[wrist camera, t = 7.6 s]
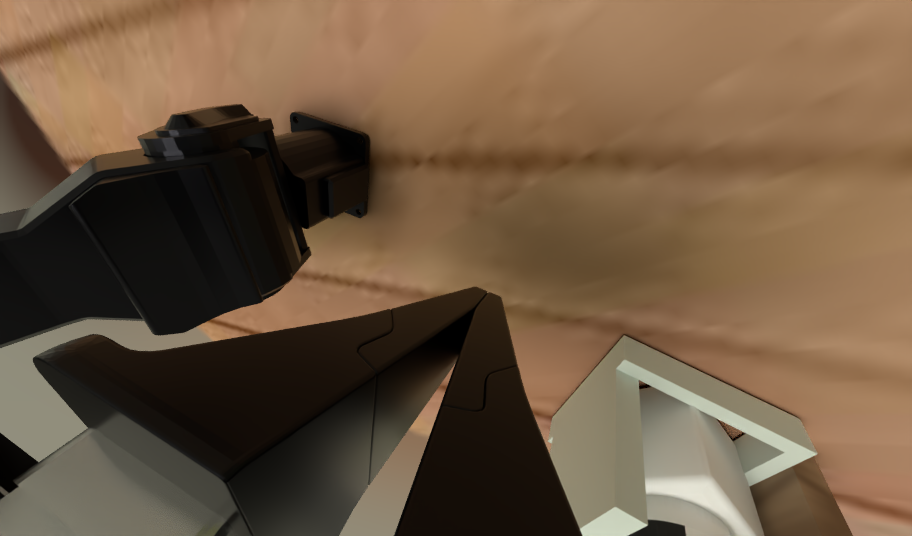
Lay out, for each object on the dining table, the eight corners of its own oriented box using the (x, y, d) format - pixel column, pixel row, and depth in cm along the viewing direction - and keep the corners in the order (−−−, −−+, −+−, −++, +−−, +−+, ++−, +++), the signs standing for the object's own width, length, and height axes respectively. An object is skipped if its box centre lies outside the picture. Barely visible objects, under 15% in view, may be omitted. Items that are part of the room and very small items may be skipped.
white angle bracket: (552, 417, 30) (525, 562, 21) (624, 335, 23) (627, 498, 14) (680, 486, 28) (708, 676, 19) (799, 419, 21) (925, 665, 13)
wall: (694, 476, 27) (717, 601, 21) (776, 429, 22) (838, 573, 16) (719, 489, 27) (750, 620, 21) (807, 444, 22) (883, 598, 16)
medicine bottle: (638, 456, 28) (648, 655, 19) (591, 397, 27) (577, 578, 18) (738, 446, 24) (817, 697, 15) (688, 376, 23) (738, 600, 13)
